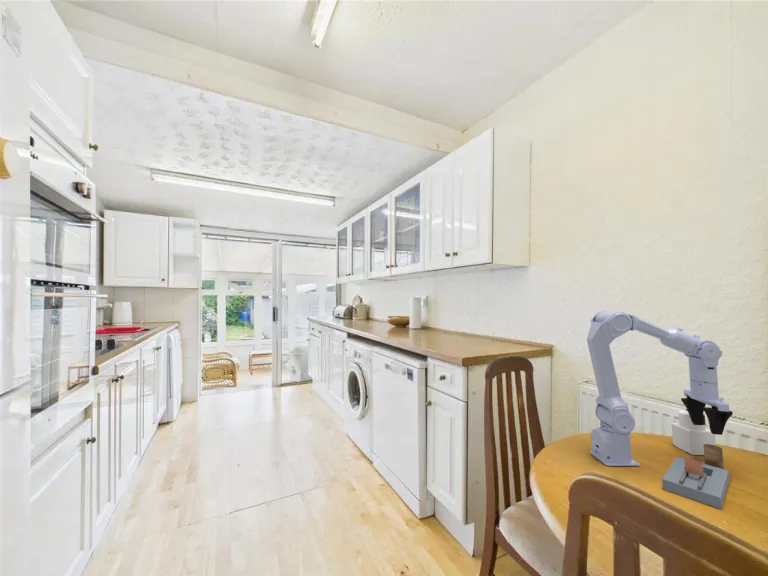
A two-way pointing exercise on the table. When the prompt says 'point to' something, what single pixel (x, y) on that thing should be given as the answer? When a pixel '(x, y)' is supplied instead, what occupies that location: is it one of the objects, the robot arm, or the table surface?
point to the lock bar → (694, 467)
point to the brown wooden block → (713, 456)
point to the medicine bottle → (691, 434)
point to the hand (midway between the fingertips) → (706, 428)
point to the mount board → (697, 483)
